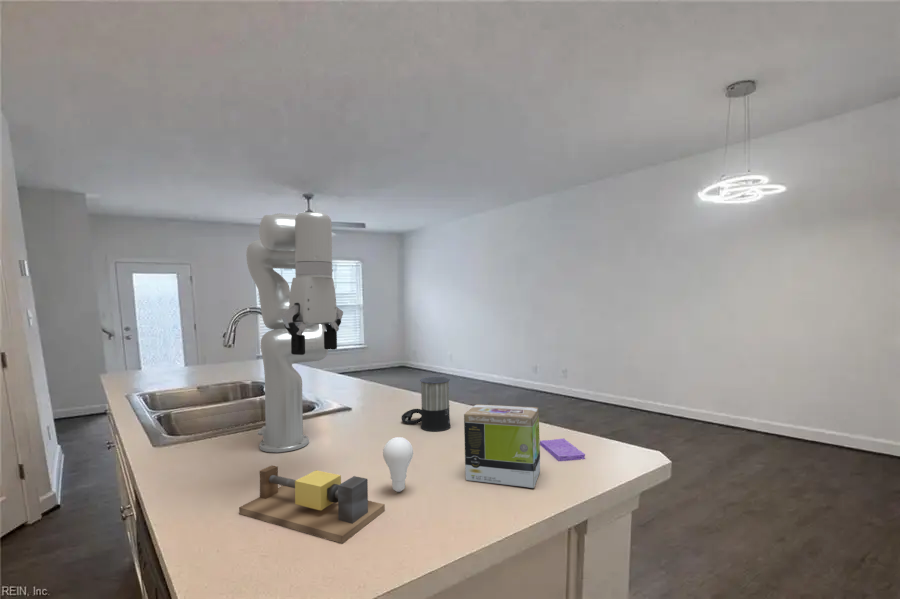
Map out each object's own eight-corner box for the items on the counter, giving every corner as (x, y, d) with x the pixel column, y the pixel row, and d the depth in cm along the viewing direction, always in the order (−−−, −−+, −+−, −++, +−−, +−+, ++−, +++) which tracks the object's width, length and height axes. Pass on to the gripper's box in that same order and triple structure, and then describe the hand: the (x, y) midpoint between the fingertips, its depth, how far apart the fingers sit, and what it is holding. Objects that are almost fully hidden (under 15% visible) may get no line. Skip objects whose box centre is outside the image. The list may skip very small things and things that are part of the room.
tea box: (540, 471, 99) (540, 406, 99) (534, 490, 90) (533, 417, 90) (476, 464, 104) (475, 402, 104) (463, 481, 95) (463, 412, 95)
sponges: (558, 463, 105) (558, 455, 105) (539, 446, 118) (539, 439, 118) (586, 461, 106) (585, 453, 106) (564, 444, 119) (563, 437, 119)
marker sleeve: (295, 504, 80) (295, 480, 80) (316, 492, 84) (316, 470, 84) (321, 510, 77) (320, 486, 77) (341, 497, 82) (340, 475, 82)
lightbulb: (389, 500, 86) (388, 444, 86) (379, 489, 91) (378, 436, 91) (418, 494, 88) (417, 439, 88) (407, 483, 94) (406, 431, 94)
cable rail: (239, 513, 81) (238, 474, 81) (288, 488, 92) (288, 453, 92) (342, 543, 71) (342, 498, 71) (384, 510, 82) (384, 471, 82)
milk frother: (450, 432, 130) (449, 381, 130) (397, 432, 130) (396, 382, 130) (451, 418, 144) (450, 373, 144) (403, 419, 144) (402, 374, 144)
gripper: (327, 274, 103) (328, 346, 103) (268, 270, 88) (269, 356, 88) (353, 272, 100) (354, 348, 100) (297, 268, 84) (298, 357, 84)
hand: (315, 351), depth 94 cm, fingers open, 9 cm apart
